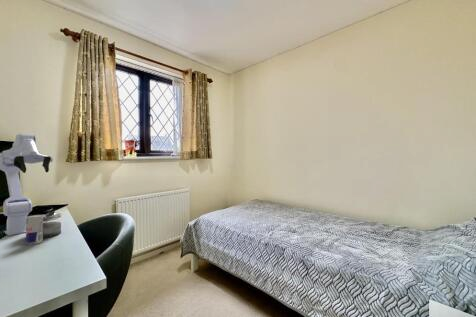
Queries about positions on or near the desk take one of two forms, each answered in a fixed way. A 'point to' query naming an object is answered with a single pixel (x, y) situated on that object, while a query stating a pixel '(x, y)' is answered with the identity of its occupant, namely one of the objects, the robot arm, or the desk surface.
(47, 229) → the grey metal cylinder
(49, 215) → the small frying pan
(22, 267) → the desk surface
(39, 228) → the energy drink
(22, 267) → the desk surface
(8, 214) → the robot arm
